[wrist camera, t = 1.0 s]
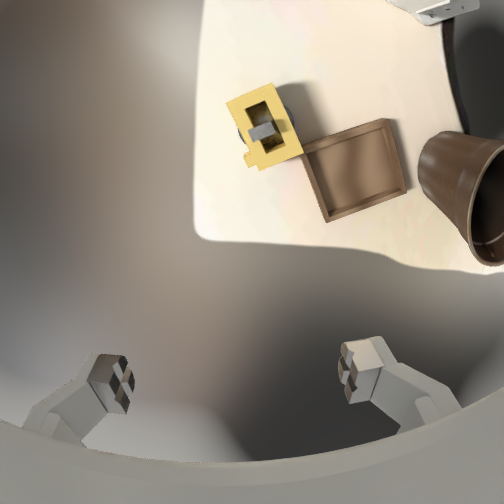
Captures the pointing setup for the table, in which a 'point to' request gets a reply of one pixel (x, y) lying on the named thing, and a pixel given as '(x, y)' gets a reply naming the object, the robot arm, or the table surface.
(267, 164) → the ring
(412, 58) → the table surface
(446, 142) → the plant pot
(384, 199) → the tray
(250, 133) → the silver knob
